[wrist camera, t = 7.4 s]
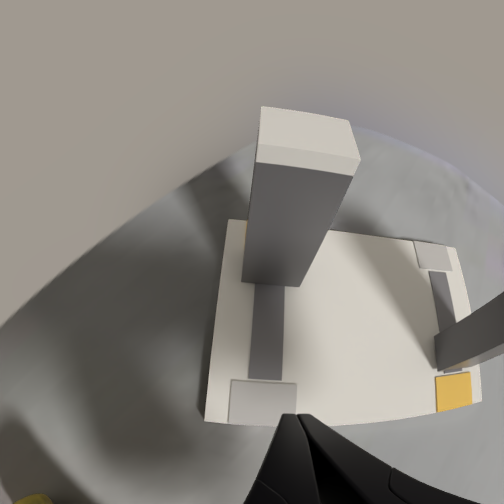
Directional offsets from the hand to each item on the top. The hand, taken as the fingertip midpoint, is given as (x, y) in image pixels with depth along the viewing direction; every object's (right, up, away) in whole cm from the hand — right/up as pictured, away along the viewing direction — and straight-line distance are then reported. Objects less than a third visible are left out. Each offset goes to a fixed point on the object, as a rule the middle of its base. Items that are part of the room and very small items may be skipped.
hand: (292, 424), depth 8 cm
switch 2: (+13, -2, +8) cm, 15 cm away
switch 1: (0, +4, +11) cm, 12 cm away
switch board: (+6, 0, +10) cm, 12 cm away
